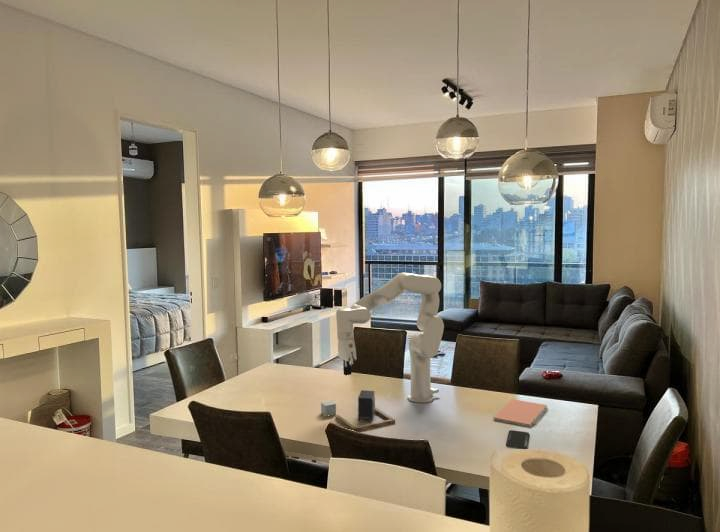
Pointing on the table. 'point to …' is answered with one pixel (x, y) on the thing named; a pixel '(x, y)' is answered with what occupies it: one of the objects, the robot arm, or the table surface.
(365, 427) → the frame
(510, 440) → the phone
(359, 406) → the small box
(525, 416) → the notebook
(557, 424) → the table surface
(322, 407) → the slate block
